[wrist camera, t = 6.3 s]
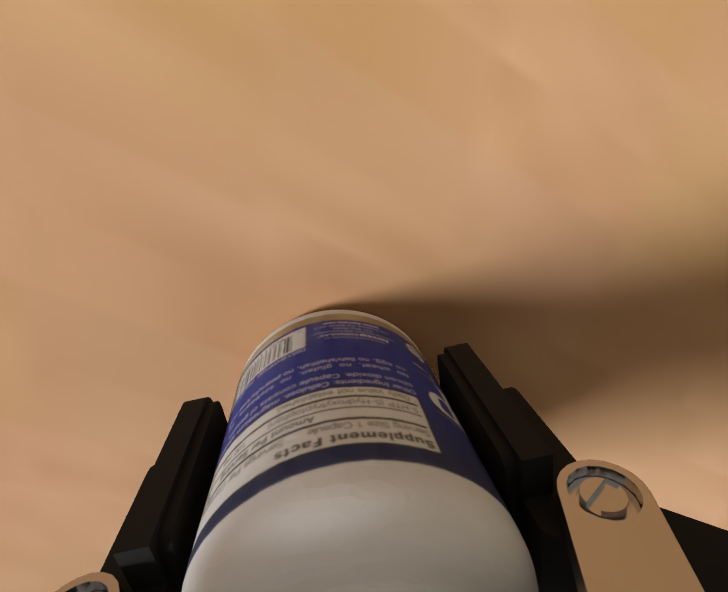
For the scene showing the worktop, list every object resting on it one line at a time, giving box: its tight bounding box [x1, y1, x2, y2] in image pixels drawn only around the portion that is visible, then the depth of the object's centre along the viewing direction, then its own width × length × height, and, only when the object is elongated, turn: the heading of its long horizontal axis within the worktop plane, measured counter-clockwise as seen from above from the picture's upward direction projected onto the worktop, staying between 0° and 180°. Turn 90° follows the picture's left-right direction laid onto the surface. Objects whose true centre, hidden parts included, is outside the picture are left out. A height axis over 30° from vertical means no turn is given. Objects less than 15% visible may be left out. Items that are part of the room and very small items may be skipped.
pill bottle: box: [181, 310, 539, 592], centre depth 8 cm, size 5×5×9 cm
